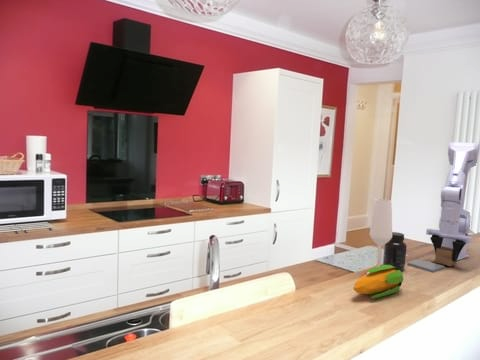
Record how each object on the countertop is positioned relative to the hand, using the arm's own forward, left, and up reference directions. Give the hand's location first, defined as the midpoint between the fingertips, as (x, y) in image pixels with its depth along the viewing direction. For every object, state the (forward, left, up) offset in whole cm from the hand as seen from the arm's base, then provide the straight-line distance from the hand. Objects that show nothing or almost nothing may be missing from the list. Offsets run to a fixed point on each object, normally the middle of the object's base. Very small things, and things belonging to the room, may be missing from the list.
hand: (446, 258), depth 134 cm
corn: (+45, +2, -3) cm, 45 cm away
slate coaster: (+8, -3, -2) cm, 9 cm away
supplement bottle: (+20, -8, -3) cm, 22 cm away
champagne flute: (+31, -7, -3) cm, 32 cm away
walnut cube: (0, 0, -2) cm, 2 cm away
